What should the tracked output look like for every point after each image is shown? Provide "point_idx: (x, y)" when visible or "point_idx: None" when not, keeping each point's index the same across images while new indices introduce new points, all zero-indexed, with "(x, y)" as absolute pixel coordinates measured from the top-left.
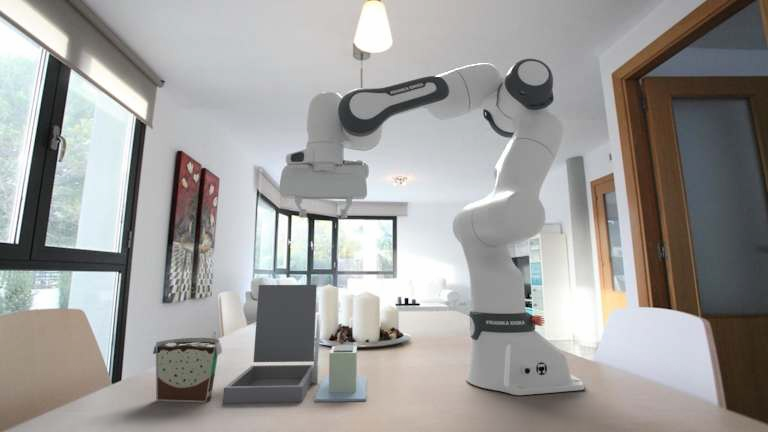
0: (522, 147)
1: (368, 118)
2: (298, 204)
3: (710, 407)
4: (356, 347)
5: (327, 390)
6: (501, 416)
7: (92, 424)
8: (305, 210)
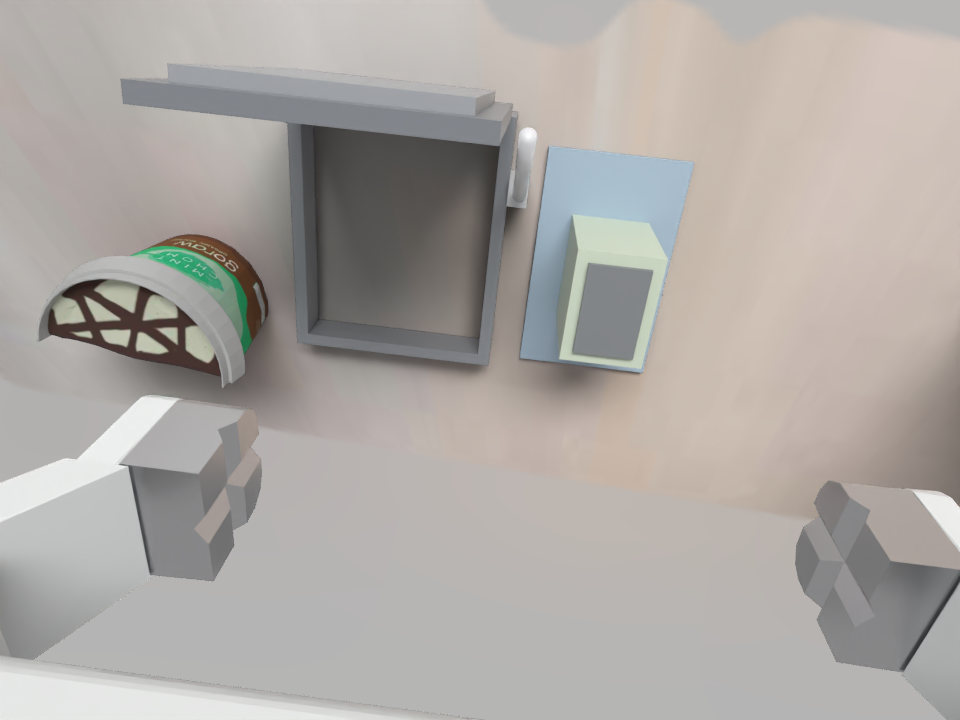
0: None
1: None
2: (31, 639)
3: None
4: (660, 287)
5: (553, 295)
6: None
7: (117, 399)
8: (220, 565)
